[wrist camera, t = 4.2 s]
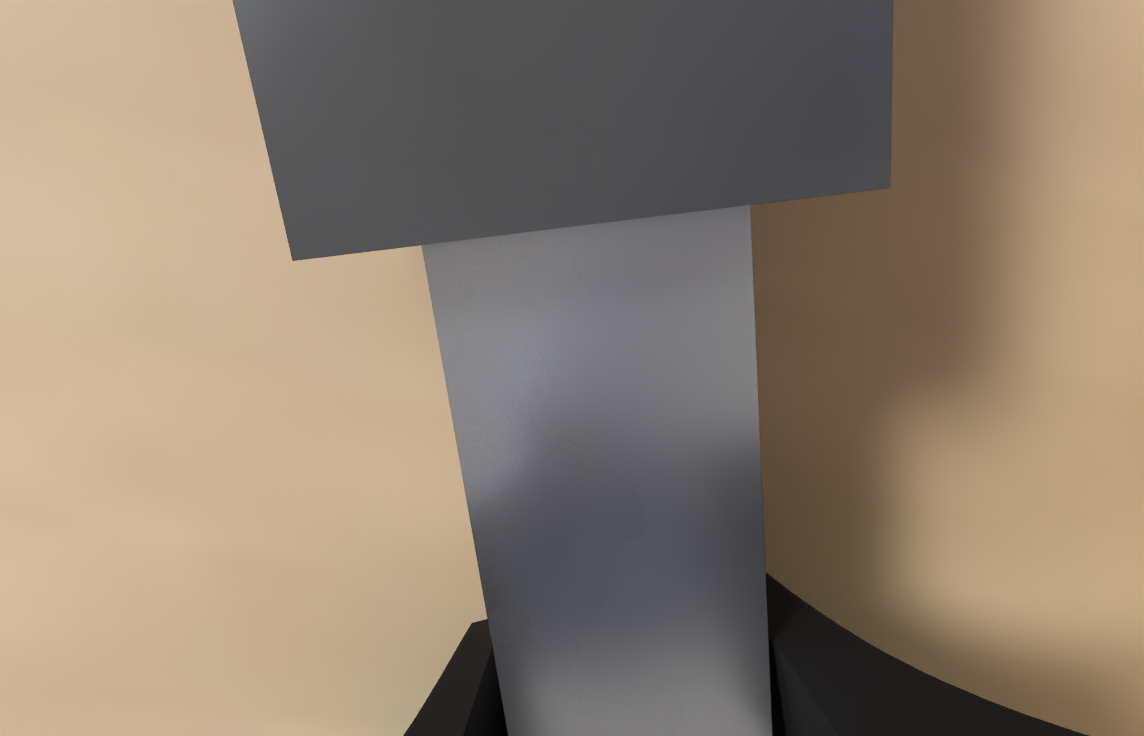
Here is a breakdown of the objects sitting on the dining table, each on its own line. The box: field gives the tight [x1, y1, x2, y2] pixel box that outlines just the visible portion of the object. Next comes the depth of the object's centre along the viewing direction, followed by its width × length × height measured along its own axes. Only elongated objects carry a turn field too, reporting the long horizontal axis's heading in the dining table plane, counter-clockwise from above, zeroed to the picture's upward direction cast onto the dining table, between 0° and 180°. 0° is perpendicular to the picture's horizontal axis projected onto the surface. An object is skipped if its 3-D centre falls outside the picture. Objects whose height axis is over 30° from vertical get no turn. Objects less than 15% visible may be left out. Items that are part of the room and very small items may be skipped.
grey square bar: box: [422, 205, 772, 736], centre depth 10 cm, size 4×18×4 cm, turn 7°
